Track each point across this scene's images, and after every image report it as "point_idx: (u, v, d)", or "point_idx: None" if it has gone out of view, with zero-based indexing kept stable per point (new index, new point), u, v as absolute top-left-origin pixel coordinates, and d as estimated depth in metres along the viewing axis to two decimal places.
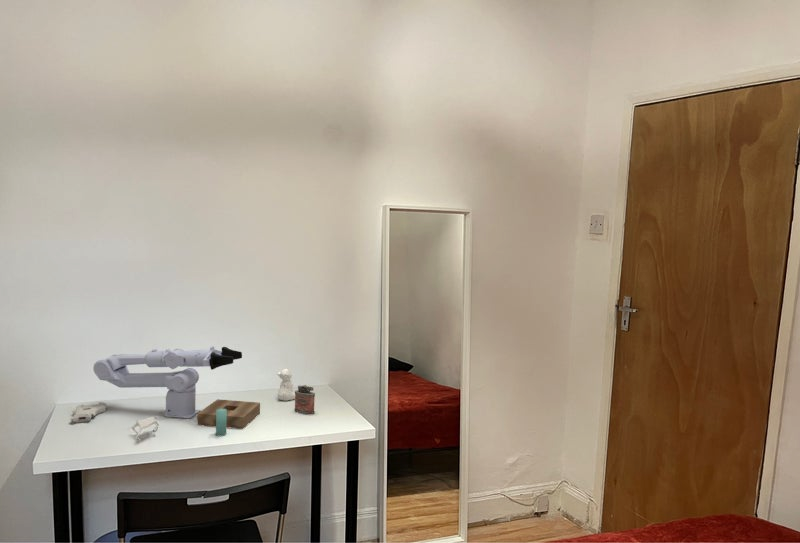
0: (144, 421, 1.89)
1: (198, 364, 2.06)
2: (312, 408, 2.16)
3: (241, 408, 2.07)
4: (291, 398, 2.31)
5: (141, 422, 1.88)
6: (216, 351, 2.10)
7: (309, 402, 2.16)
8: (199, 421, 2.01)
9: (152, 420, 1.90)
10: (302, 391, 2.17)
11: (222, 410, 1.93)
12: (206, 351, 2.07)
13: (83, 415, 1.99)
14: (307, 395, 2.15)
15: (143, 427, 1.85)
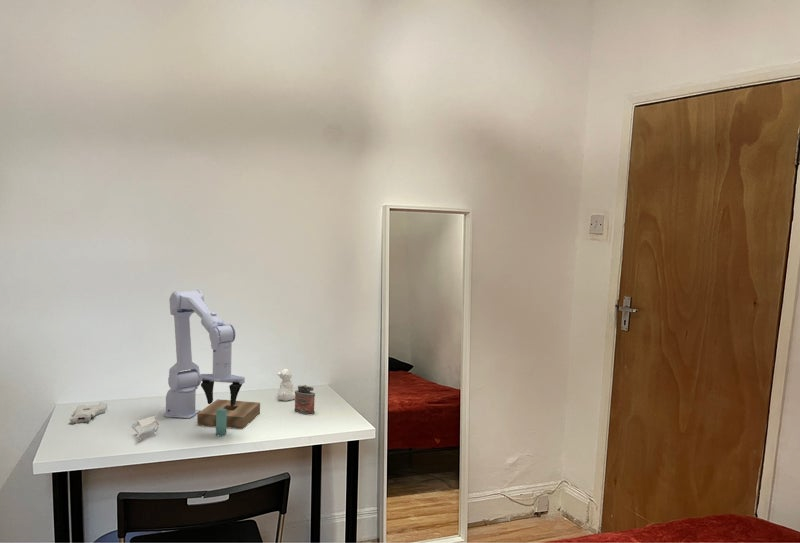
0: (144, 420, 1.90)
1: None
2: (312, 408, 2.16)
3: (241, 408, 2.07)
4: (291, 398, 2.31)
5: (141, 421, 1.89)
6: None
7: (309, 402, 2.16)
8: (199, 421, 2.01)
9: (153, 419, 1.91)
10: (302, 391, 2.17)
11: (222, 410, 1.93)
12: (215, 373, 1.89)
13: (82, 415, 1.99)
14: (307, 395, 2.15)
15: (144, 426, 1.85)
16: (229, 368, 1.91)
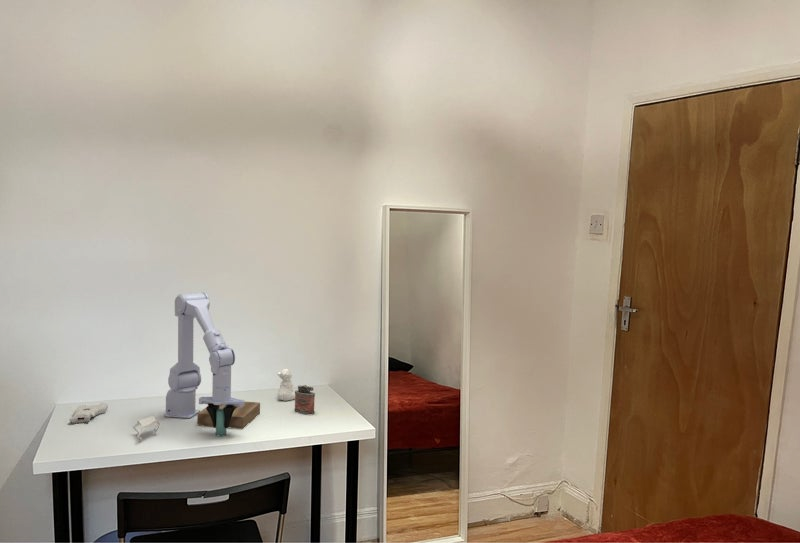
0: (145, 420, 1.90)
1: None
2: (312, 408, 2.16)
3: (241, 408, 2.07)
4: (291, 398, 2.31)
5: (142, 421, 1.89)
6: None
7: (309, 402, 2.16)
8: (199, 421, 2.01)
9: (153, 419, 1.91)
10: (302, 391, 2.17)
11: (222, 410, 1.93)
12: (215, 396, 1.90)
13: (82, 416, 1.99)
14: (307, 395, 2.15)
15: (144, 426, 1.86)
16: (228, 391, 1.91)
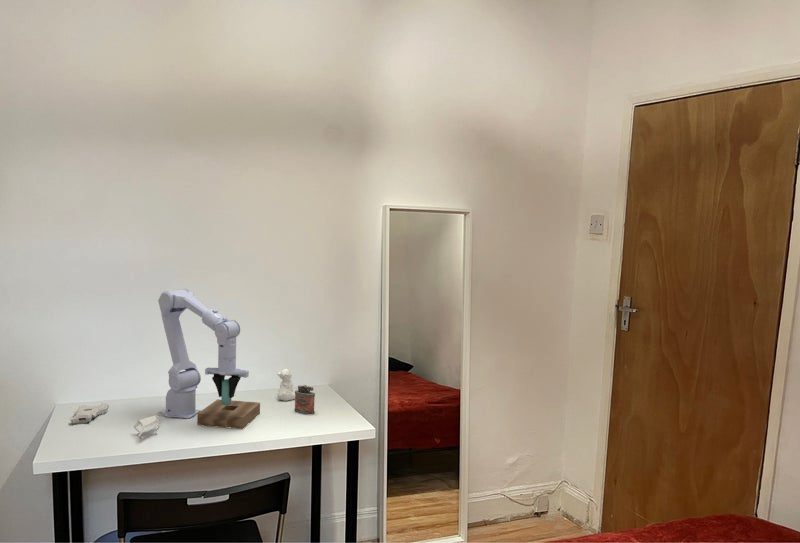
0: (146, 420, 1.90)
1: None
2: (312, 408, 2.16)
3: (241, 408, 2.07)
4: (291, 398, 2.31)
5: (143, 420, 1.90)
6: None
7: (309, 402, 2.16)
8: (199, 421, 2.01)
9: (154, 419, 1.92)
10: (302, 391, 2.17)
11: (227, 380, 2.00)
12: (221, 367, 1.98)
13: (83, 416, 1.98)
14: (307, 395, 2.15)
15: (145, 426, 1.86)
16: (233, 362, 1.99)
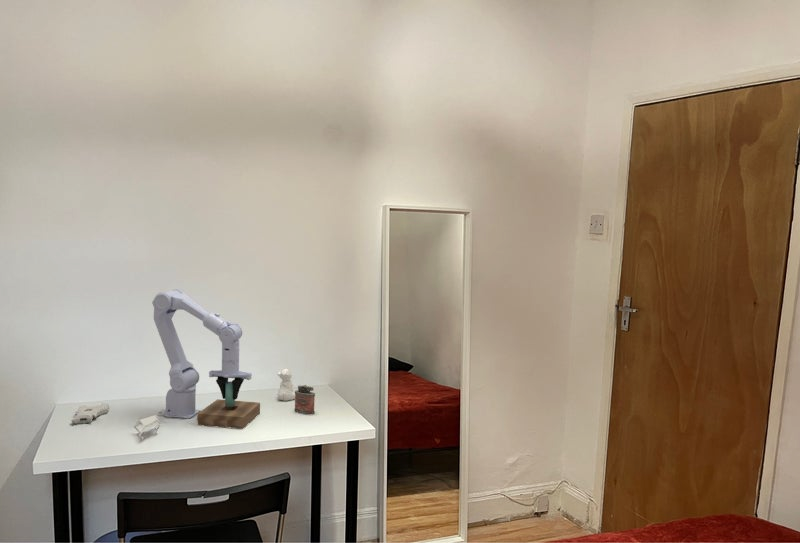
0: (146, 419, 1.91)
1: None
2: (312, 408, 2.16)
3: (241, 408, 2.07)
4: (291, 398, 2.31)
5: (143, 420, 1.90)
6: None
7: (309, 402, 2.16)
8: (199, 421, 2.01)
9: (154, 418, 1.92)
10: (302, 391, 2.17)
11: (231, 383, 2.06)
12: (224, 369, 2.04)
13: (84, 416, 1.98)
14: (307, 395, 2.15)
15: (146, 425, 1.86)
16: (237, 365, 2.05)
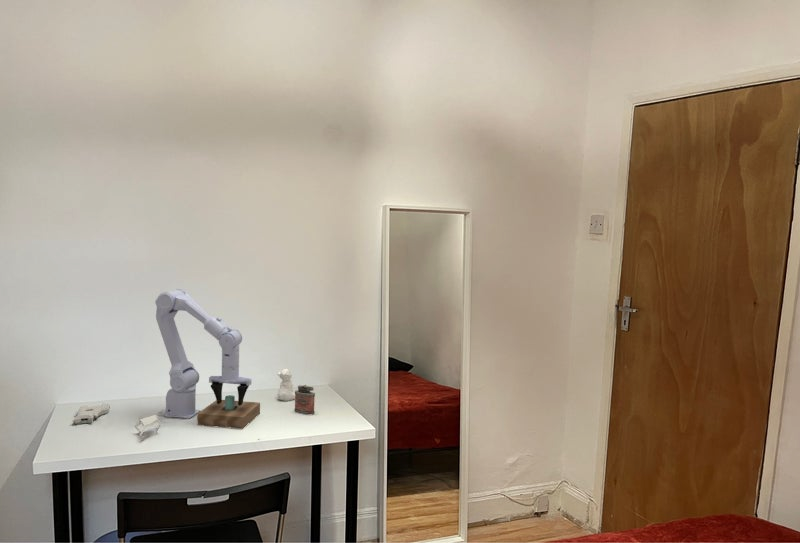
0: (146, 419, 1.91)
1: None
2: (312, 408, 2.16)
3: (241, 408, 2.07)
4: (291, 398, 2.31)
5: (144, 420, 1.90)
6: None
7: (309, 402, 2.16)
8: (199, 421, 2.01)
9: (155, 418, 1.92)
10: (302, 391, 2.17)
11: (230, 397, 2.07)
12: (224, 375, 2.04)
13: (85, 416, 1.98)
14: (307, 395, 2.15)
15: (147, 425, 1.87)
16: (237, 370, 2.05)
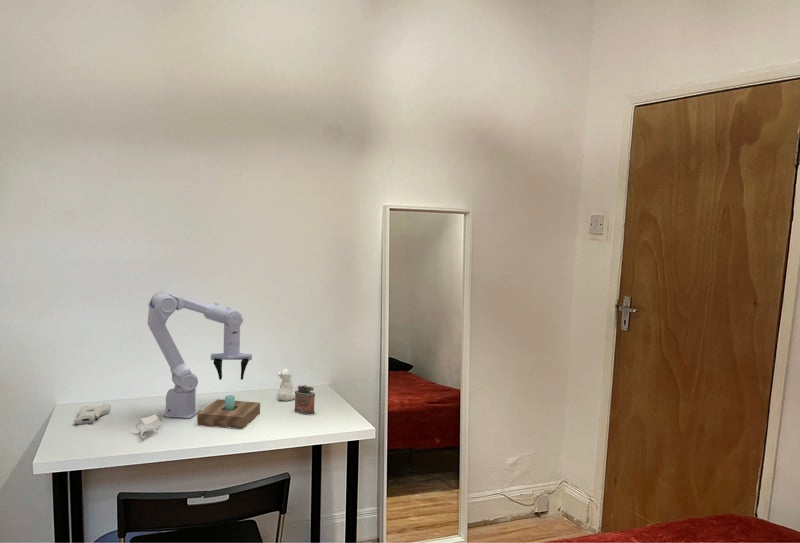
0: (147, 419, 1.91)
1: None
2: (312, 408, 2.16)
3: (241, 408, 2.07)
4: (291, 398, 2.31)
5: (144, 419, 1.90)
6: None
7: (309, 402, 2.16)
8: (199, 421, 2.01)
9: (155, 418, 1.92)
10: (302, 391, 2.17)
11: (230, 397, 2.07)
12: (228, 351, 2.17)
13: (86, 417, 1.98)
14: (307, 395, 2.15)
15: (147, 425, 1.87)
16: (239, 347, 2.19)
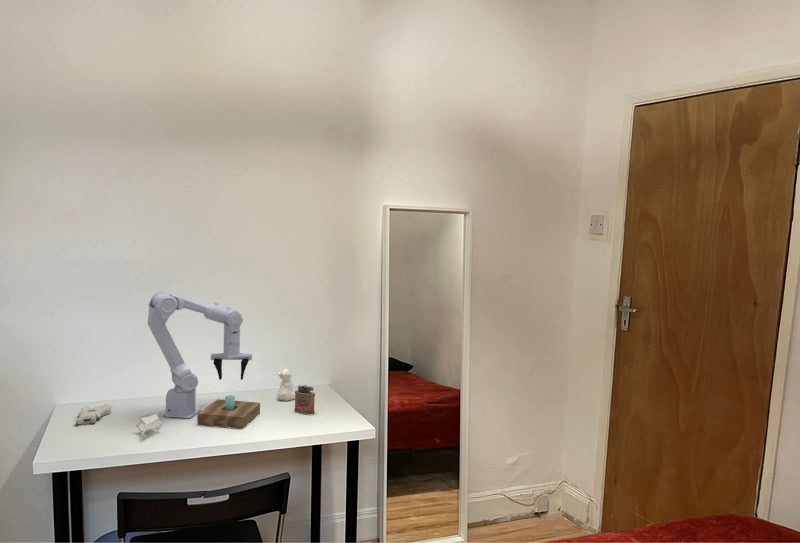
0: (147, 418, 1.92)
1: None
2: (312, 408, 2.16)
3: (241, 408, 2.07)
4: (291, 398, 2.31)
5: (145, 419, 1.91)
6: None
7: (309, 402, 2.16)
8: (199, 421, 2.01)
9: (156, 417, 1.93)
10: (302, 391, 2.17)
11: (230, 397, 2.07)
12: (228, 351, 2.17)
13: (88, 417, 1.98)
14: (307, 395, 2.15)
15: (148, 424, 1.87)
16: (239, 347, 2.19)
